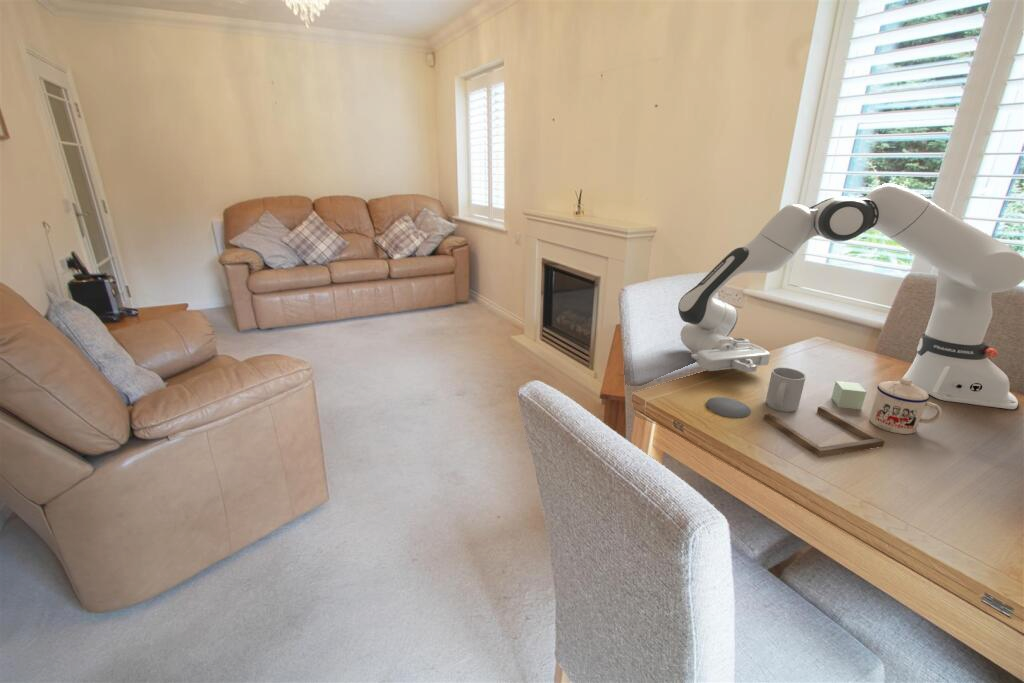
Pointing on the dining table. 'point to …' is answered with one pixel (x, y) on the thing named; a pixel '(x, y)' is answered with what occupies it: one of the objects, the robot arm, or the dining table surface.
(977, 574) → the dining table surface
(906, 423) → the teacup with lid
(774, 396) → the cup
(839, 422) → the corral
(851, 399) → the sage box
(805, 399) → the dining table surface
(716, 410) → the slate coaster
